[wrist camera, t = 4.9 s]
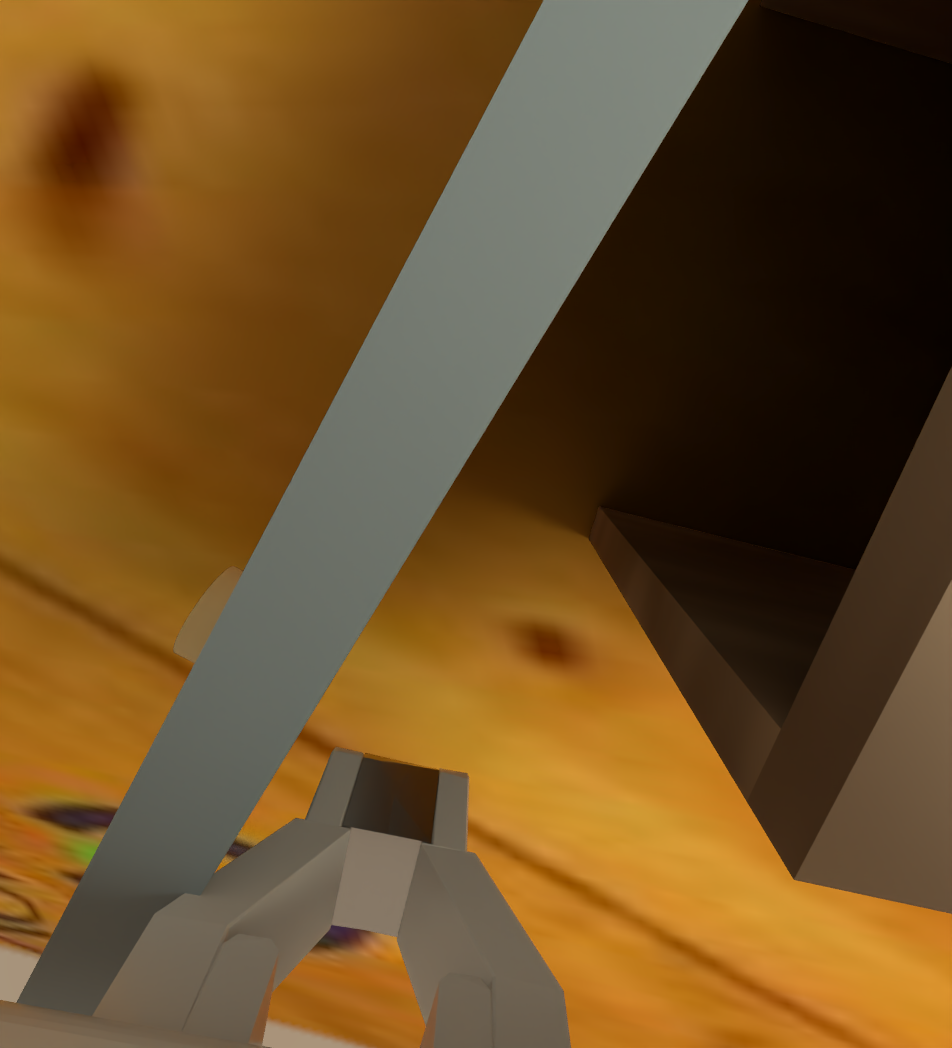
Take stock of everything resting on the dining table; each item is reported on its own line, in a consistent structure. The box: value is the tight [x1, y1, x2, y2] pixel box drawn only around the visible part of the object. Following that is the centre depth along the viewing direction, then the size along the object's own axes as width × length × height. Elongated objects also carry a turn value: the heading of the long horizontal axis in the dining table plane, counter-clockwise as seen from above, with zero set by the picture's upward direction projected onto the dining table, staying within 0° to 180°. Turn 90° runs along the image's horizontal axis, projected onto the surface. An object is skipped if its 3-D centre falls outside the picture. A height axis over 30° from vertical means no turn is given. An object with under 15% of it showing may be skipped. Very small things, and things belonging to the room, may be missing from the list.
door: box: [17, 0, 748, 1016], centre depth 9 cm, size 20×2×10 cm, turn 149°
